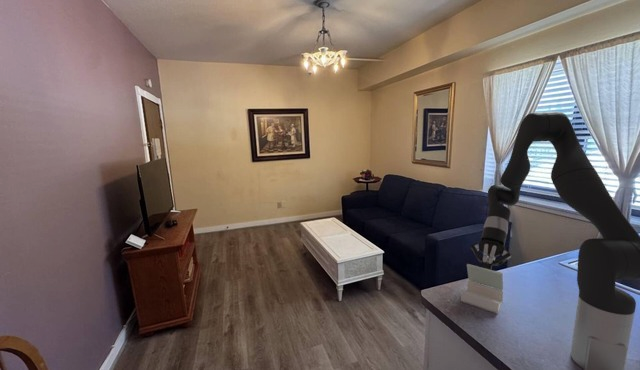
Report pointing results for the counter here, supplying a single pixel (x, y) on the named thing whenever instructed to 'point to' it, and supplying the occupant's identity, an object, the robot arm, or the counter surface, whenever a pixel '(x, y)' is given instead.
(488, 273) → the cover
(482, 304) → the cream card holder
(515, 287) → the counter surface
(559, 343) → the counter surface
